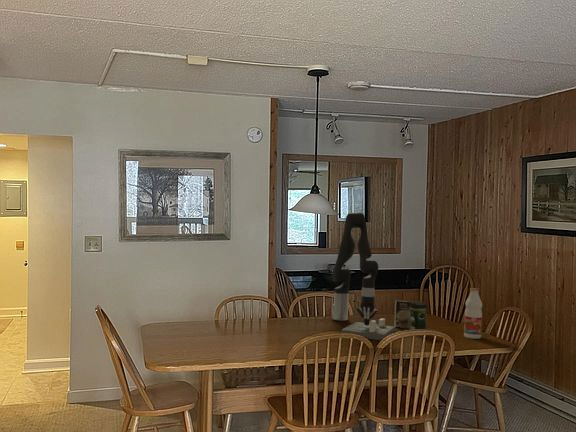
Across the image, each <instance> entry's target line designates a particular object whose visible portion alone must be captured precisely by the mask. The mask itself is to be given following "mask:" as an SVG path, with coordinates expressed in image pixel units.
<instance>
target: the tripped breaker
mask: <svg viewBox="0 0 576 432" xmlns="http://www.w3.org/2000/svg"><path fill="white" fill-rule="evenodd" d="M372 323H373V324H377V320H374V319H371V320H370V322H369V327H370V324H372Z"/></svg>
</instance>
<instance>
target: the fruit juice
mask: <svg viewBox="0 0 576 432" xmlns="http://www.w3.org/2000/svg"><path fill="white" fill-rule="evenodd" d="M479 291H480V288H478V287H477V288H476V287H470V288H469V295H468V297H467V299H466V300H465V311H464V326H463V327H464V329H463V337H465V338H467V339H474V340H477V339H478V340H480V339H481V338H482V328H483V327H482V323H483V312H482V308H483V302H482V300H481V297H480V294H479Z"/></svg>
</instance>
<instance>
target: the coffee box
mask: <svg viewBox="0 0 576 432" xmlns="http://www.w3.org/2000/svg"><path fill="white" fill-rule="evenodd" d="M394 302H395V303H394V321H393V326H394V327H395V328H396V327H400V328H399V329H409V324H410V303H411V302H412V301H410V300H404V299H403V300H401V299H400V300H399V299H395V300H394Z"/></svg>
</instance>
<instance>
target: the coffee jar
mask: <svg viewBox="0 0 576 432" xmlns="http://www.w3.org/2000/svg"><path fill="white" fill-rule="evenodd" d="M426 314H427V303H426V302H425V301H422V300H421V301H419V300H418V301H411V303H410V324H409V328H408V331H409V330H411V329H426V330H427V325H426V322H427V321H426Z"/></svg>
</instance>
